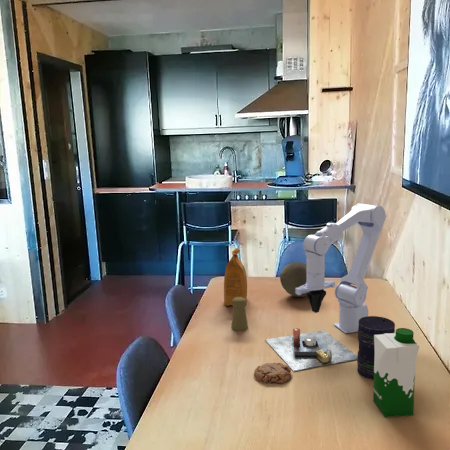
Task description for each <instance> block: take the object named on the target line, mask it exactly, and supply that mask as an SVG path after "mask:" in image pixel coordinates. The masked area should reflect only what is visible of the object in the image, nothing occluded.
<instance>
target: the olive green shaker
mask: <svg viewBox="0 0 450 450" xmlns="http://www.w3.org/2000/svg"><path fill="white" fill-rule="evenodd" d="M231 306H232V307H233V309H232V319H231V320H232V321H231V330H233V331H236V332H241V331H243V332H244V331H246V330H248V329H249V325H248V318H247V312H246V306H247V299H246V300H245V298H242V297H236V298H234V299H233V300H232V305H231Z"/></svg>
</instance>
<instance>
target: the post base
mask: <svg viewBox="0 0 450 450" xmlns="http://www.w3.org/2000/svg"><path fill="white" fill-rule="evenodd" d="M292 337H293V334H292V335H286V336H285V335H283V336H279V337H273V338H266V339H265V340H264V341H265V342H266V343H267V345H269V346H270V348H271V349H273V351H274V352H275V353H276V354H277V356H279V357H280V359H282V361H283V362H284V363H285V365H287V366H288V367H290V368H291V371H293V372H295V373H296V372H299V371H305V370H310V369H315V368H320V367H326V366H331V365H336V364H342V363H346V362H352V361H357V355H358V354H356V353H354V352H353V351H352V350H350V349H349V348H348V347H346V345H344V344H343V343H341V342H340V341H339V340H337V339H336V338H335V337H334V336H332V335H331V334H330V333H328V332H327V331H326V330H325V329H322V330H316V331H308V332H304V333H303V332H302V333H300V337H307V338H305V344H303V347H318V346H317V344H316V339H315V338H313V337H325V338H326V341H327V344H328V347H329V350H331V351H332V360H331V361H329V362H324V363H322V362H321V361H320V360H319V359H318V358H317V357H316V356H310V355H294V350H293V344H292Z"/></svg>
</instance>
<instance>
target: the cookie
mask: <svg viewBox="0 0 450 450" xmlns="http://www.w3.org/2000/svg"><path fill="white" fill-rule="evenodd" d="M253 371H254V372H253V377H254V379H255V380H257V381H258V382H263V383H274V382H275V383H277V384H283V383H285V382H287V381H289V380H290V379H291V378H292V376H293V375H292V372H291V371H292V369H291V368H290V367H289V366H288V365H287V364H283V363H282V362H268V363H263V364H261V365H258V366H256V368H255V369H254V370H253Z"/></svg>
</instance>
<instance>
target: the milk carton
mask: <svg viewBox="0 0 450 450" xmlns="http://www.w3.org/2000/svg"><path fill="white" fill-rule="evenodd" d="M414 335H415V333H414V331H413V330H412V329H409V328H405V327H400V328H399V327H398V328H396V329H395V333H389V334H388V333H385V334H380V335H374V347H375V359H374V381H373V395H372V396H373V397H372V398H373V399H372V401H373V402H374V404H375V405H376V407H377V408H378V409H379V411H380V412H381V413H382V415H383V417H385V418H391V417H401V416H402V417H403V416H404V417H405V416H413V415H414V413H415V412H414V407H415V383H416V382H415V379H416V364H417V363H416V362H417V358H418V357H417V356H418V353H419V349H420V345H419V344H418V343H417V342H416V341H415V339H414Z"/></svg>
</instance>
